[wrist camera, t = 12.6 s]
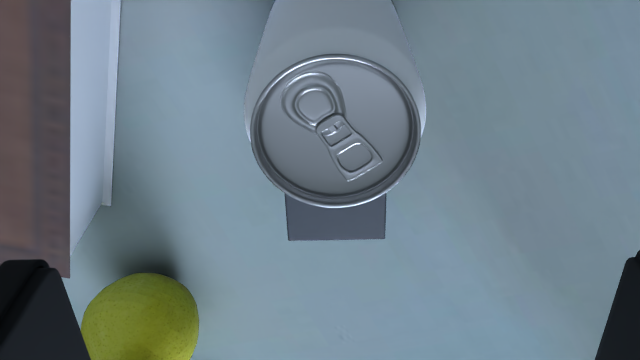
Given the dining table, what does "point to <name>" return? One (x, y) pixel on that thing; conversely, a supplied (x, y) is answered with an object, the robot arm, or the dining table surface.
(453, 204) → the dining table surface
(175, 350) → the fruit
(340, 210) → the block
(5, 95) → the book
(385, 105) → the can
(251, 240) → the dining table surface
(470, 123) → the dining table surface
